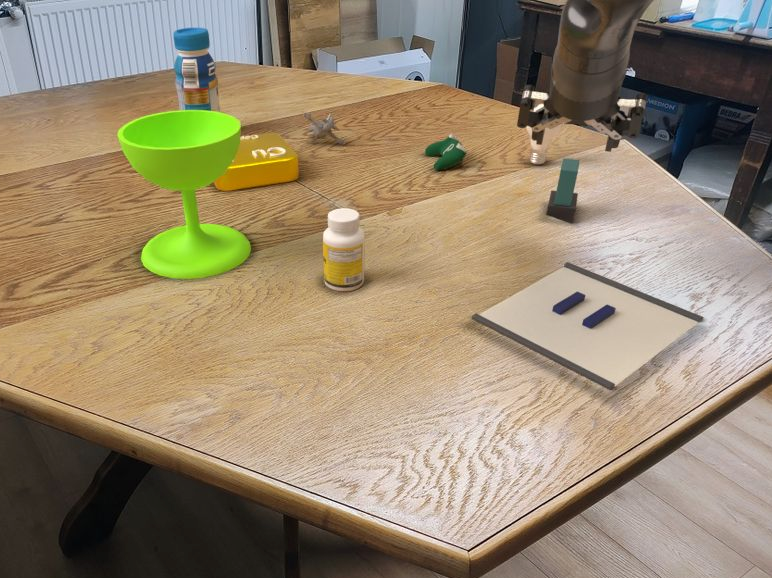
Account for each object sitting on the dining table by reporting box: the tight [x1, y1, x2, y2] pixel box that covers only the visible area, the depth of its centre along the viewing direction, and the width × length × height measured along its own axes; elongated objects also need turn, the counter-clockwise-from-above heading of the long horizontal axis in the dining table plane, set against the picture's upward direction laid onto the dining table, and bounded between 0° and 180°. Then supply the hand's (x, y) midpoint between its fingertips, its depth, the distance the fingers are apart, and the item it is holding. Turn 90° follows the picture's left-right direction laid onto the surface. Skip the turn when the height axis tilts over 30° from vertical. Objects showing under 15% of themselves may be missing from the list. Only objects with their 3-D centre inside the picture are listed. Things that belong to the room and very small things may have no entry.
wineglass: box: [117, 109, 252, 280], centre depth 94 cm, size 16×16×18 cm
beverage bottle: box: [172, 27, 221, 112], centre depth 136 cm, size 8×8×20 cm
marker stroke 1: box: [552, 292, 586, 315], centre depth 83 cm, size 5×1×1 cm, turn 129°
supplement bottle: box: [322, 207, 366, 292], centre depth 88 cm, size 5×5×10 cm
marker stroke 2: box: [582, 305, 616, 329], centre depth 80 cm, size 5×1×1 cm, turn 129°
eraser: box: [545, 157, 580, 224], centre depth 104 cm, size 6×4×8 cm, turn 159°
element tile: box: [212, 132, 300, 192], centre depth 123 cm, size 15×15×5 cm
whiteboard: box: [471, 261, 704, 391], centre depth 81 cm, size 20×18×2 cm
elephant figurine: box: [303, 111, 346, 146], centre depth 135 cm, size 10×6×9 cm
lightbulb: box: [525, 104, 564, 166], centre depth 120 cm, size 6×6×11 cm
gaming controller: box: [424, 132, 468, 172], centre depth 125 cm, size 9×4×6 cm
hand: (574, 141), depth 89 cm, fingers open, 8 cm apart
